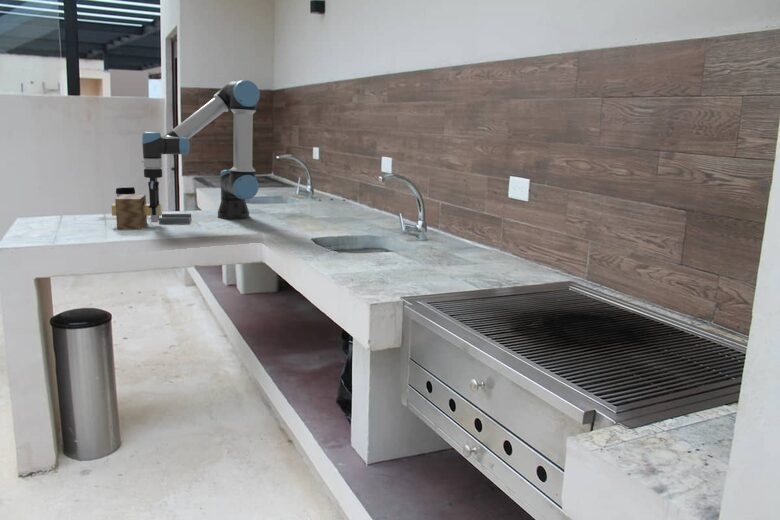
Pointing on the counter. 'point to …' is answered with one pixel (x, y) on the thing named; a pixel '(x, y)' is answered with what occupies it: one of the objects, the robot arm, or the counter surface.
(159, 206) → the brass bar
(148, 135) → the robot arm
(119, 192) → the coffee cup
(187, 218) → the saddle tray
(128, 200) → the wooden block
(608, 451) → the counter surface
